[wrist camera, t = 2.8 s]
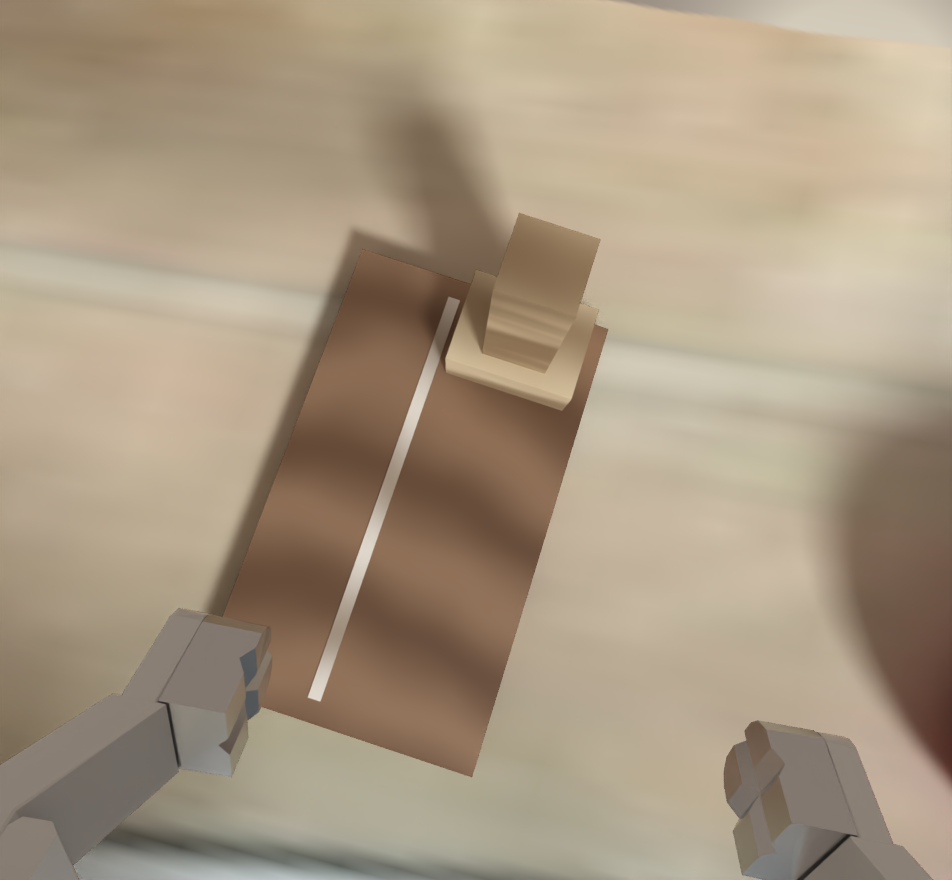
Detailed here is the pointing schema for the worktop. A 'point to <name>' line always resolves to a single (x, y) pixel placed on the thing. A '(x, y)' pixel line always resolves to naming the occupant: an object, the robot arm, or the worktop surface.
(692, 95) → the worktop surface
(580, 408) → the walnut board
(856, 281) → the worktop surface
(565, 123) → the worktop surface
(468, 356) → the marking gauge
